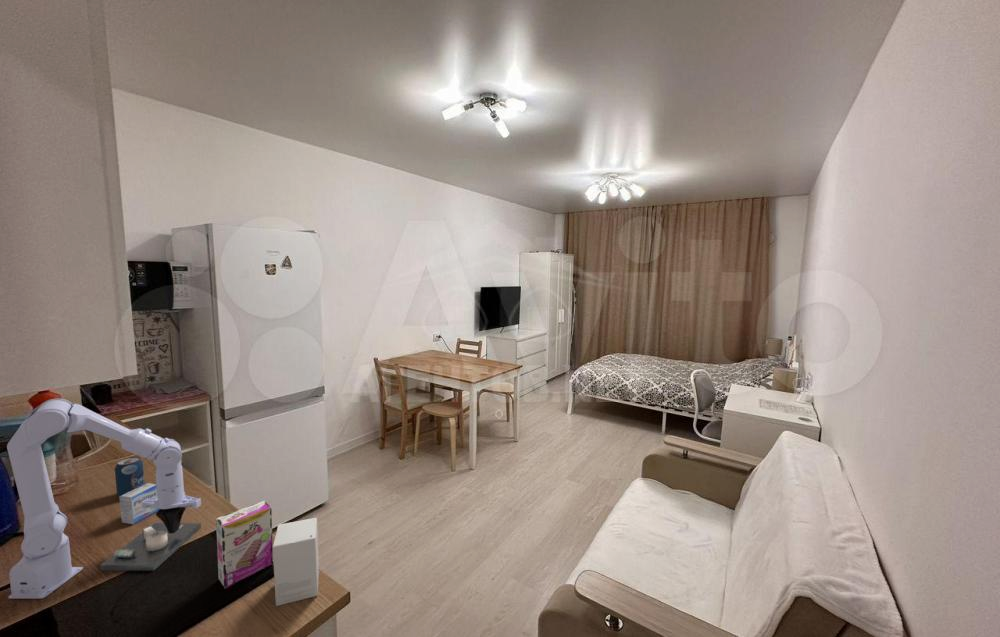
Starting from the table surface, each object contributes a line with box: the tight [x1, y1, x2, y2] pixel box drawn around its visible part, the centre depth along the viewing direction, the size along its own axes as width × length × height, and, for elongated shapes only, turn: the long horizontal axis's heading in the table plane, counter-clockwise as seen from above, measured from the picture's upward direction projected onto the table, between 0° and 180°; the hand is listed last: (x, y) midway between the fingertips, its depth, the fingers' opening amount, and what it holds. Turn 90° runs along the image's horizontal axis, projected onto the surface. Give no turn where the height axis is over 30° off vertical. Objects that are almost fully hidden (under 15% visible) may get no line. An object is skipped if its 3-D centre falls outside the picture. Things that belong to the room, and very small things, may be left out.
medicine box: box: [118, 482, 159, 525], centre depth 124 cm, size 8×4×9 cm, turn 168°
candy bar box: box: [215, 500, 274, 590], centre depth 102 cm, size 11×5×16 cm, turn 141°
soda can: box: [114, 456, 146, 498], centre depth 135 cm, size 7×7×12 cm
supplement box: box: [272, 517, 320, 607], centre depth 98 cm, size 9×9×15 cm
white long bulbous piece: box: [141, 524, 168, 551], centre depth 110 cm, size 9×4×3 cm, turn 59°
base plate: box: [99, 522, 202, 572], centre depth 111 cm, size 17×13×3 cm
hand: (173, 531), depth 113 cm, fingers closed
